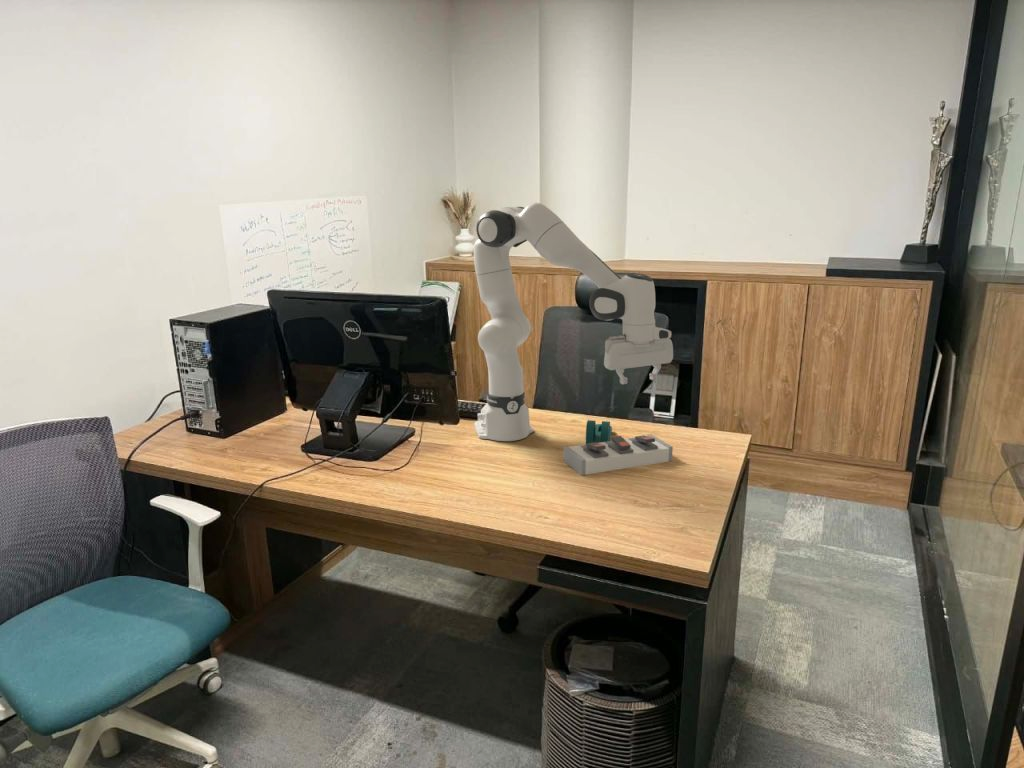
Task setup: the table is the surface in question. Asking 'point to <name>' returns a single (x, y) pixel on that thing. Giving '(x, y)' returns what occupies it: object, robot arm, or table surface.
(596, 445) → the rocker
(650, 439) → the rocker
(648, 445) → the power strip
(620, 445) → the rocker
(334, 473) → the table surface
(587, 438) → the bracket
